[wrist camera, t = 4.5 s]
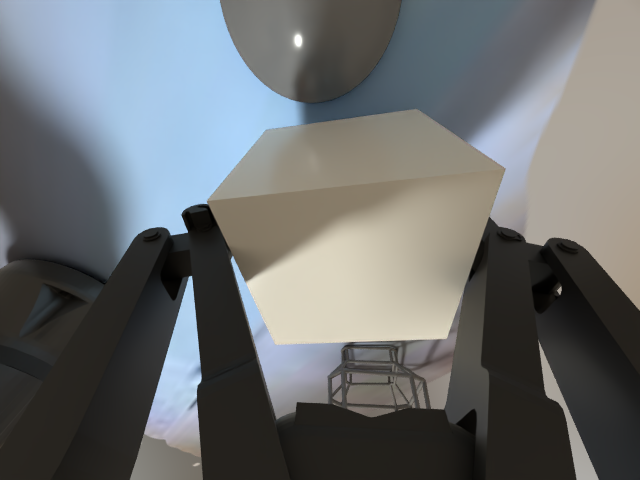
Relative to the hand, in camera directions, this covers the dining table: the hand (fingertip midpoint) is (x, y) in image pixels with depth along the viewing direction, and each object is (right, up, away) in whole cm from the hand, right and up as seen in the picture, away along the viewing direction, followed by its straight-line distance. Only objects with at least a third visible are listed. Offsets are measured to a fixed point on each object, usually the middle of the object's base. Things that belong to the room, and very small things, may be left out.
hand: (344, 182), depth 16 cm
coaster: (-2, +10, -2) cm, 10 cm away
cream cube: (0, 0, +1) cm, 1 cm away
